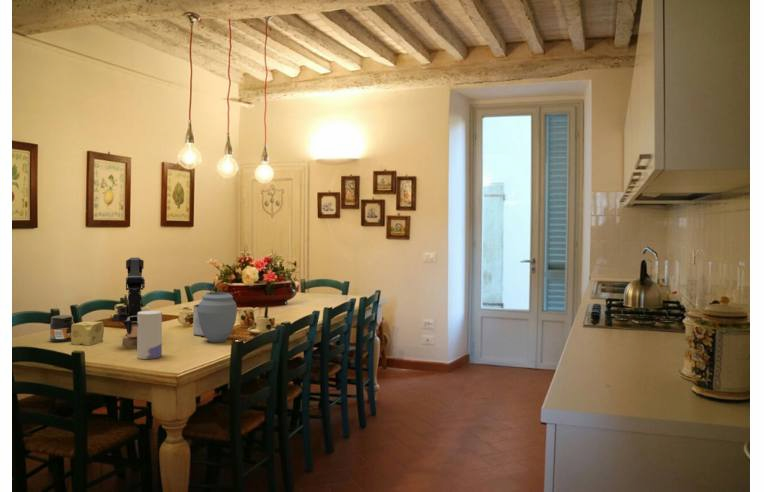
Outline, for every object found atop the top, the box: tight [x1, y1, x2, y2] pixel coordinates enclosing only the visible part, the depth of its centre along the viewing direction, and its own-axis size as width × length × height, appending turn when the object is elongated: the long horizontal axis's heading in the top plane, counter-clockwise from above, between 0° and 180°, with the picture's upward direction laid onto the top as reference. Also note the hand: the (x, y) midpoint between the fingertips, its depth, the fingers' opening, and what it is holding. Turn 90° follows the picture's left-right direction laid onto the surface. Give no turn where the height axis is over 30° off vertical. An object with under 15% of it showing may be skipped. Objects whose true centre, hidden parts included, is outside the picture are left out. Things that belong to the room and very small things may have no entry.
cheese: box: [70, 320, 105, 346], centre depth 278 cm, size 10×11×10 cm
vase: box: [197, 291, 238, 343], centre depth 288 cm, size 20×20×24 cm
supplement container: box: [49, 314, 75, 343], centre depth 282 cm, size 10×10×12 cm
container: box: [136, 310, 163, 360], centre depth 252 cm, size 10×10×20 cm
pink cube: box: [126, 324, 138, 337], centre depth 272 cm, size 5×5×5 cm
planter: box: [192, 303, 205, 337], centre depth 306 cm, size 16×16×16 cm
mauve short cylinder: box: [122, 336, 137, 350], centre depth 273 cm, size 8×8×4 cm
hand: (134, 333), depth 273 cm, fingers closed on pink cube, 5 cm apart
